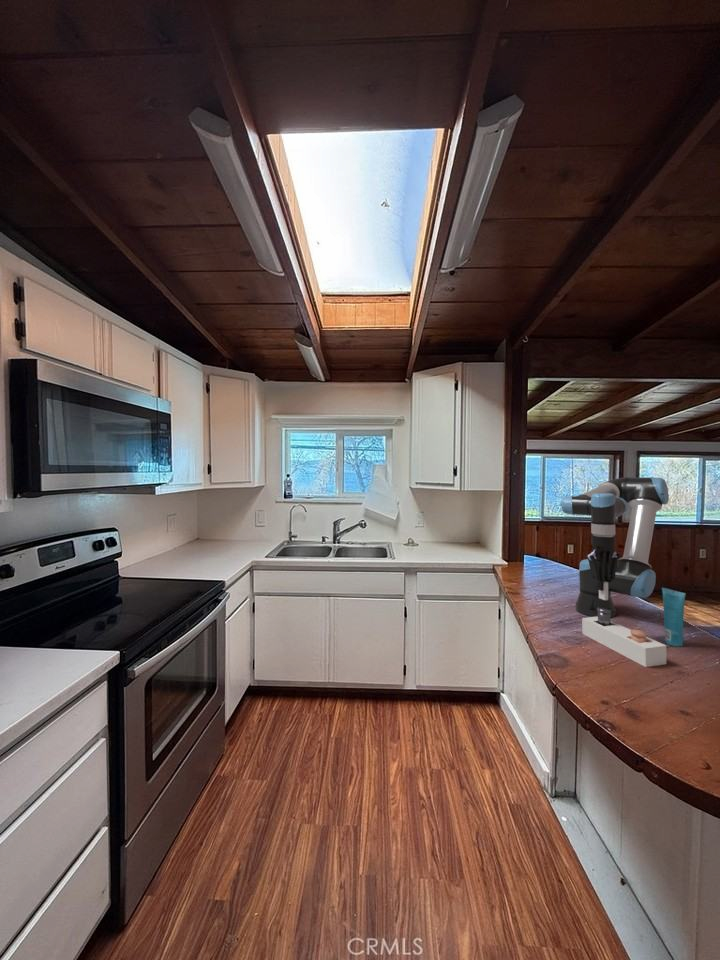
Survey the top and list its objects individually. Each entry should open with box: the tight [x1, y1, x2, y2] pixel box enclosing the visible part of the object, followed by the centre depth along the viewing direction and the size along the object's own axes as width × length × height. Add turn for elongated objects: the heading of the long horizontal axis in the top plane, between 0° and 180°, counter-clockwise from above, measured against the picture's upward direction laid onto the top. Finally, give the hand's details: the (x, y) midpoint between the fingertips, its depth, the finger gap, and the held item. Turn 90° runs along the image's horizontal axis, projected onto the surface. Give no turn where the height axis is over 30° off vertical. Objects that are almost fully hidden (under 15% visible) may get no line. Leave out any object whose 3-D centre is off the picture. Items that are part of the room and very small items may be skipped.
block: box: [581, 616, 667, 668], centre depth 134 cm, size 8×26×6 cm, turn 11°
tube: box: [661, 587, 687, 647], centre depth 136 cm, size 7×5×19 cm, turn 26°
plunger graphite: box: [597, 607, 612, 626], centre depth 141 cm, size 4×4×7 cm
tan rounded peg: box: [630, 628, 648, 643], centre depth 127 cm, size 4×4×7 cm
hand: (603, 598), depth 140 cm, fingers closed
